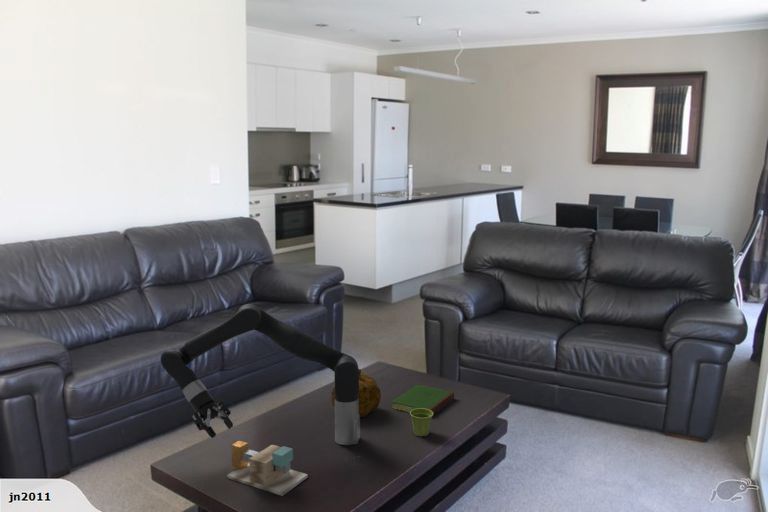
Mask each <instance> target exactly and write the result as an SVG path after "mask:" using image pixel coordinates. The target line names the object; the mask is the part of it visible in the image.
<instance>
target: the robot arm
mask: <svg viewBox="0 0 768 512" xmlns="http://www.w3.org/2000/svg"><path fill="white" fill-rule="evenodd" d="M251 331H256V332H258V333H261V334H263V335H265V337H267V338H269V339H271V340H272V341H273V342H274V343H275V344H277V345H278V346H279V347H280V348H281V349H283V350H284V351H285V352H287V353H289V354H292V355H293V356H295V357H297V358H300V359H302V360H305V361H310V362H315V363H318V364H321V365H322V366H325V367H326V368H328V369H330V370H331V371H332V372H334V384H335V385H334V386H335V408H334V441H335V443H336V444H338V445H342V446H351V445H358V443H359V440H360V437H361V424H360V423H361V417H360V415H359V369H360V368H359V364H358V362H357V360H356V358H354V357H353V356H351V355H349V354H347V353H344V352H341V351H339V350H336V349H334V348H332V347H330V346H328V345H326V344H325V343H323V342H322V341H320V340H319V339H316V338H314V337H313V336H311V335H310V334H307V333H305V332H304V331H302V330H300V329H298V328H296V327H294V326H292V325H290V324H288V323H286V322H283V321H282V320H279V319H277V318H275V317H273V316H271V315H270V314H269V313H267V312H266V311H264V310H263V309H261V308H260V307H259V306H257V305H255V304H253V303H247V304H243V305H242V306H241V307H239V308H238V309H237V312H236V314H234V315H233V316H232V317H231V318H229V319H228V320H227V321H224V322H223V323H221V324H220V325H218V326H215V327H212V328H210V329H208V330H206V331H203V332H201V333H199V334H198V335H196V336H194V337H193V338H190V339H189V340H187V341H186V342H185V343H184V345H183V346H182V347H180V348H178V349H177V350H175V349H166V350H165V351H163V352H162V354H161V355H160V364H161V366H162V367H163V369H164V370H165V372H167V374H168V375H169V376H170V377H171V378H172V380H174V381H175V383H176V384H177V385H178V387H179V388H180V390H181V391H182V393H183V395H184V397H185V398H186V400H187V402H188V403H189V404H190V406H191V408H192V409H193V410H194V412H195V413H193V415H192V416H191V419H192V420H193V423H194V424H195V426H196V428H197V429H198V431H199V432H200V431H205V432H206V434H207V435H208V436H209V437H210V438H211V439H213V438H215V437H216V436H217V433H216V432H215V430H214V429H213V427H212V426H211V425H210V424H211V421H212V420H213V419H214V420H215V419H220V420H222V422H223V423H224V424H225V425H226V428H227V429H228V430H230V429H232V428H233V427H234V424H233V422H232V420H231V419H230V418H229V416H230V415H231V410H230V409H229V408H228V407H227V405H226V404H225V403H224V402H223V400H219V402H218V403H215V401H214V397H213V396H212V395H211V393H210V392H209V390H208V389H207V388H206V386H205V384H203V382H202V381H201V380H200V379H199V377H198V376H197V374H196V373H195V371H193V369H191V368H190V367H188V365H189V364H190V363H192V361H194V360H195V359H197V358H199V357H200V356H203V355H204V354H205V353H208V352H209V351H211V350H213V349H214V348H216V347H218V346H219V345H221V344H223V343H225V342H226V341H228V340H230V339H232V338H233V339H234V338H235V337H237V336H240V335H243V334H245V333H249V332H251Z"/></svg>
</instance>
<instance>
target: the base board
mask: <svg viewBox="0 0 768 512" xmlns="http://www.w3.org/2000/svg"><path fill="white" fill-rule="evenodd" d="M226 478H227V479H230V480H232V481H236V482H239V483H242V484H243V485H247V486H251V487H254V488H256V489H259V490H262V491H265V492H269V493H272V494H275V495H278V496H281V497H283V496H284V495H286V494H288V493H289V492H290V491H291V490H292V489H294V488H295V487H297V486H298V485H299V484H300V483H302V482H303V481H305V480H306V479H307V478H309V475H308V474H307V473H305V472H301V471H298V470H294V469H291V470H290V471H288V472H287V473H284V474H283V475H281V476H280V477H278V478H277V479H276V480H274V481H273V482H271V483H270V484H268V485H267V486H265V485H262V484H259V483H256V482H252V481H250V465H249V464H248V465H247V466H245V467H243V468H242V469H240V468H236V469H234V470H232V471H231V472H229V473H228V474H226Z"/></svg>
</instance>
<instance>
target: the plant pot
mask: <svg viewBox="0 0 768 512" xmlns="http://www.w3.org/2000/svg"><path fill="white" fill-rule="evenodd" d="M409 414H410V416H411V417H410V418H411V422H412V431H413V433H412V434H414V435H415V436H417V437H423V436H424V437H426V436H428V435H429V433H430V427H431V421H432V418H433V416H434V415H433V412H432V411H431V410H429V409H425V408H417V409H413V410H411V411H410V413H409Z"/></svg>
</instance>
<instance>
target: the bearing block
mask: <svg viewBox="0 0 768 512" xmlns="http://www.w3.org/2000/svg"><path fill="white" fill-rule="evenodd" d="M281 447H282V446H279V445H275V444H270V445H269V446H267V447H265V448H264V449H263V450H261V451H258V452H259V453H258V454H256V455H254V456H253V457H251V458H249V465H250V481H252V482H256V483H259V484H262V485H265V486H267V485H268V484H270V483H271V482H273V481H274V480H276V479H277V478H278V477H280V476H281V475H283V474H284V473H282V472H278V471H275V470H274V466H273V463H272V453H273V452H275V451H276V450H278V449H280V448H281Z"/></svg>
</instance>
